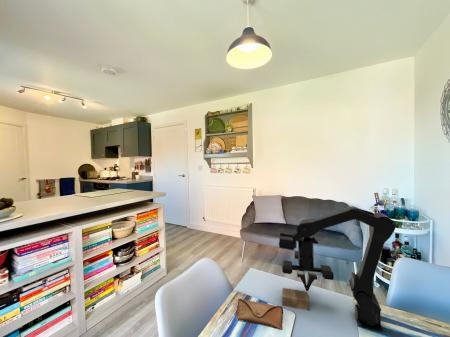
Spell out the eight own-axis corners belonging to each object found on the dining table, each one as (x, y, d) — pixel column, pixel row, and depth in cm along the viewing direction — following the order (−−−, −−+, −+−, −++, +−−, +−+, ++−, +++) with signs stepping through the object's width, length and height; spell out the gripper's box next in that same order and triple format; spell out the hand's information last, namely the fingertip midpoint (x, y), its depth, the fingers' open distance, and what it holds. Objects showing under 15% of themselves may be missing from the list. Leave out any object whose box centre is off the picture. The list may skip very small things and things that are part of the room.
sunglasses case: (233, 320, 70) (235, 299, 73) (236, 317, 76) (238, 297, 79) (284, 330, 65) (283, 307, 69) (283, 327, 71) (283, 305, 74)
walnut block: (307, 291, 80) (282, 287, 83) (308, 301, 74) (281, 296, 77) (307, 301, 80) (282, 296, 83) (309, 311, 74) (282, 306, 77)
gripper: (327, 246, 82) (328, 282, 82) (282, 242, 88) (283, 276, 88) (333, 258, 71) (334, 299, 71) (281, 252, 77) (282, 291, 77)
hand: (306, 290), depth 77 cm, fingers closed
